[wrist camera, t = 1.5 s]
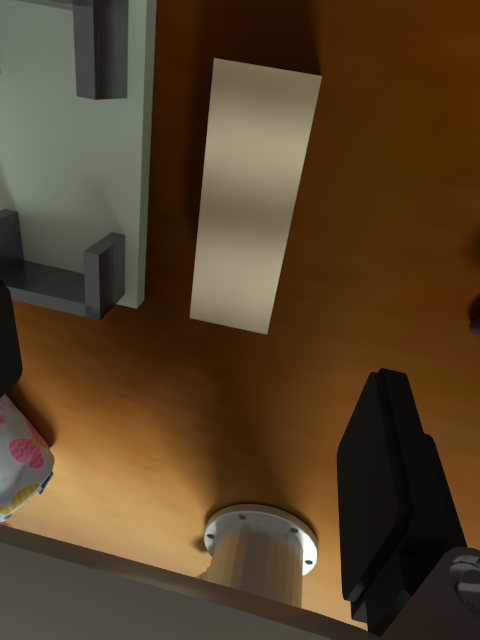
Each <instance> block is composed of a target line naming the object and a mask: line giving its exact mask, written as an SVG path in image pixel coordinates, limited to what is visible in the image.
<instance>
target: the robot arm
mask: <svg viewBox="0 0 480 640" xmlns="http://www.w3.org/2000/svg"><path fill="white" fill-rule="evenodd" d="M22 370H23V368H22V361H21V354H20V348H19V342H18V336H17V330H16V324H15V317H14V311H13V305H12V299H11V293H10V290H9V288H8V287H6V286H5V284H4V282H3V281H2V280H0V398H1V397H2V396H3V395H4V394H5V393H6V392H7V391H8V390H9V389H10V388H11V387H12V386H13V385H14V384H15V383H16V382H17V381H18V380H19V378H20V377H21V374H22ZM337 481H338V505H339V529H340V553H341V577H342V594H343V598H344V600H347V601H351V618H352V620H356V621H360V622H363V623H367V626H368V631H366V630H363V629H361V628H358V627H356V626H353V625H350V624H347V623H344V622H341V621H338V620H336V619H333V618H330V617H327V616H324V615H321V614H318V613H315V612H312V611H308V610H305V609H302V608H301V605H302V577H303V575H305V574H307V573H308V572H309V571H310V570H312V569H313V568H314V566H315V564H316V562H317V558H318V543H317V540H316V537H315V535H314V534H313V532H312V531H311V529H310V528H309V527H308V526H307V525H306V524H305V523H303V522H302V521H301V520H299V519H298V518H297V517H295V516H293V515H291V514H290V513H288V512H285V511H283V510H280V509H278V508H274V507H270V506H266V505H259V504H239V505H233V506H229V507H226V508H223V509H221V510H219V511H218V512H216V513H215V514H214V515H212V516H211V517H210V519H209V520H208V522H207V525H206V528H205V532H204V543H205V546H206V548H207V550H208V552H209V553H210V555H211V556H212V560H211V564H210V566H209V567H208V568H207V570H206V572H204V573H202V574H200V575H198V576H196V577H195V578H194V577H191V576H187V575H183V574H180V573H176V572H173V571H169V570H165V569H162V568H158V567H154V566H151V565H147V564H144V563H140V562H136V561H133V560H129V559H125V558H122V557H118V556H115V555H111V554H107V553H104V552H100V551H96V550H93V549H89V548H85V547H82V546H78V545H74V544H70V543H67V542H63V541H59V540H56V539H52V538H48V537H45V536H41V535H37V534H34V533H30V532H26V531H22V530H19V529H15V528H11V527H8V526H4V525H0V640H480V550H477V549H475V548H470V547H467V544H466V541H465V538H464V534H463V531H462V528H461V525H460V522H459V518H458V515H457V512H456V509H455V506H454V503H453V499H452V496H451V493H450V490H449V487H448V483H447V480H446V477H445V474H444V471H443V467H442V464H441V461H440V458H439V455H438V451H437V448H436V445H435V442H434V440H433V438H432V437H431V436H430V435H428V434H424V432H423V429H422V425H421V422H420V418H419V415H418V412H417V408H416V405H415V401H414V398H413V394H412V391H411V387H410V384H409V380H408V377H407V375H406V374H405V373H401V372H397V371H393V370H388V369H384V368H381V369H380V370H379V371H378V373H375V372H371V373H370V375H369V377H368V379H367V381H366V384H365V386H364V388H363V391H362V393H361V395H360V398H359V400H358V402H357V405H356V407H355V409H354V412H353V414H352V416H351V419H350V421H349V423H348V426H347V428H346V430H345V433H344V435H343V437H342V440H341V442H340V444H339V447H338V451H337Z"/></svg>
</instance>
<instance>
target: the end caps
mask: <svg viewBox="0 0 480 640" xmlns="http://www.w3.org/2000/svg"><path fill="white" fill-rule="evenodd" d="M16 1H21V2H27V3H32V4H38V5H43V6H49V7H54V8H60V9H66V10H71V11H73V26H74V49H75V72H76V95H77V96H78V97H83V98H88V99H93V100H104V99H124V98H127V81H128V8H129V0H16ZM0 74H1V71H0ZM83 257H84V274H83V273H79V272H74V271H70V270H65V269H61V268H57V267H52V266H48V265H43V264H39V263H34V262H30V261H26V260H24V255H23V247H22V239H21V231H20V223H19V215H18V212H17V211H12V210H8V209H3V210H1V211H0V280H2V281H3V282H4V284H5V286H6V287H8V288H9V290H10V293H11V299H12V300H15V301H19V302H23V303H28V304H32V305H36V306H40V307H45V308H49V309H53V310H58V311H62V312H66V313H71V314H75V315H79V316H83V317H88V318H92V319H96V320H101V319H102V318H103V317H104V316H105V315H106V314H107V313H108V312H109V311H110V309H111V308H112V307H113V306H114V305H115V304H116V303H117V302H118V301H119V300H120V299H121V298H122V297H123V296H124V295H125V235H123V234H118V233H114V232H111V233H110V234H108V235H107V236H105V237H104V238H102V239H101V240H100V241H98V242H97V243H95V244H94V245H92V246H91V247H89V248H88V249H87V250H85V251H84V252H83Z"/></svg>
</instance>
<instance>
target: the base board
mask: <svg viewBox="0 0 480 640" xmlns="http://www.w3.org/2000/svg"><path fill="white" fill-rule="evenodd" d="M156 4H157V0H129V8H128V81H127V98H124V99H104V100H93V99H88V98H83V97H78V96H77V95H76V72H75V49H74V26H73V11H71V10H66V9H60V8H54V7H49V6H43V5H38V4H32V3H27V2H21V1H16V0H0V71H1V74H0V211H1V210H3V209H8V210H12V211H17V212H18V215H19V223H20V231H21V239H22V247H23V255H24V260H26V261H30V262H34V263H39V264H43V265H48V266H52V267H57V268H61V269H65V270H70V271H74V272H79V273H83V274H84V257H83V252H84V251H85V250H87V249H88V248H89V247H91V246H92V245H94V244H95V243H97V242H98V241H100V240H101V239H102V238H104V237H105V236H107V235H108V234H110V233H111V232H114V233H118V234H123V235H125V295H124V296H123V297H122V298H121V299H120V300H119V301H118V302H117V303H116V304H118V305H122V306H127V307H131V308H135V309H137V308H138V307H139V306H140V304H141V303H142V302H143V301H144V290H145V266H146V242H147V218H148V195H149V171H150V147H151V123H152V99H153V75H154V52H155V28H156Z"/></svg>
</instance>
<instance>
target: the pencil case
mask: <svg viewBox="0 0 480 640" xmlns="http://www.w3.org/2000/svg"><path fill="white" fill-rule="evenodd" d="M54 461H55V460H54V456H53V454H52V453H51V452H50V449H49V446H48V444H47V443H46V441H45V440H44V439H43V438H42V437H41V436H40V434H39V433H38V432H37V431H36V429H35V428H34V427H33V426H32V424H31V423H30V422H29V421H28V419H27V418H26V417H25V416H24V415H23V414H22V413H21V411H20V410H18V409H17V408H16V407H15V405H14V404H13V403H12V401H11V400H10V399H9V397H8V396H7V395H6V394H4V395H3V396H2V397H1V398H0V522H1V521H5V520H7V519H9V518H10V516H11V514H12V513H13V512H14V511H16V510H17V509H18V508H20V507H21V506H22V505H23V504H24V503H26V502H27V501H28V500H29V499H30V498H31V497H32V496H33V495H34V494H35V493H36V492H37V491H38V493H39V494H41V493H42V492H43V490H44V489H45V487H46V485H47V483H48V482H49V480H50V479H51V477H52V476H53V472H52V469H53V465H54Z"/></svg>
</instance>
